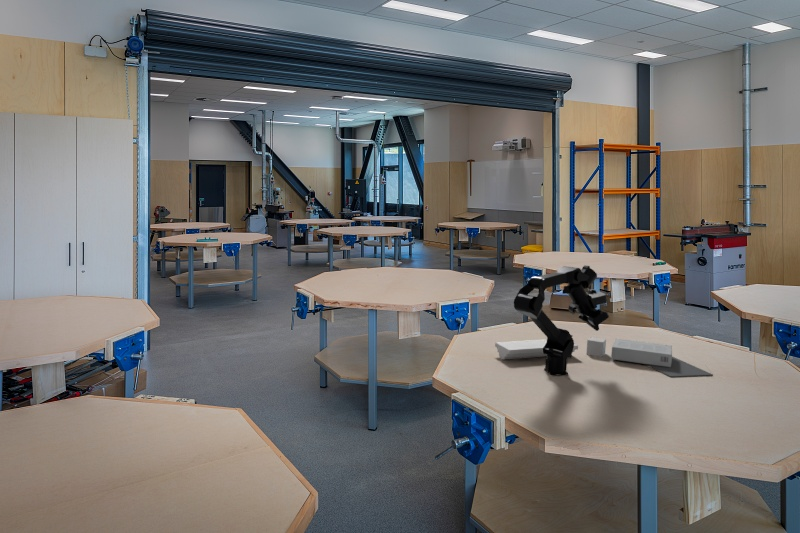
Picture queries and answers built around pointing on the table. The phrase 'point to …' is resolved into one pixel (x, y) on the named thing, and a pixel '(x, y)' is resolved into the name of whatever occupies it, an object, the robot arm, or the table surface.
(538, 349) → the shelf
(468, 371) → the table surface
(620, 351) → the skincare box
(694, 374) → the rubber mat
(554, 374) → the robot arm
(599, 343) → the white cube
